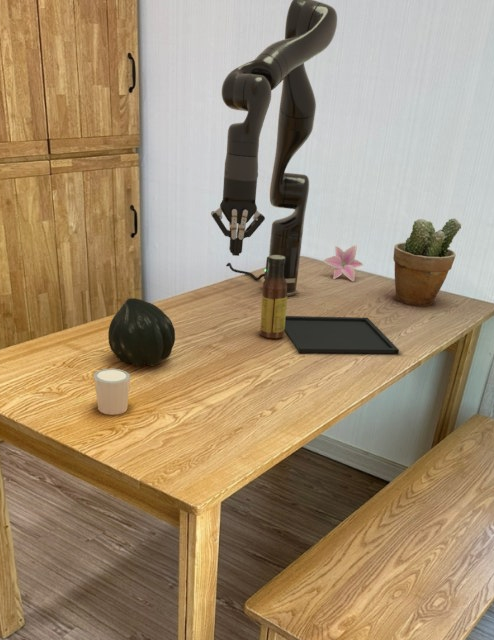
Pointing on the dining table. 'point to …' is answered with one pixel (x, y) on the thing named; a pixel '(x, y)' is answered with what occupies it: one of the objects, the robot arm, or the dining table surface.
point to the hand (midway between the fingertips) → (235, 254)
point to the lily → (344, 262)
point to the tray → (337, 335)
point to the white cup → (112, 390)
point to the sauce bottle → (274, 299)
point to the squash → (141, 333)
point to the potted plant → (423, 262)
